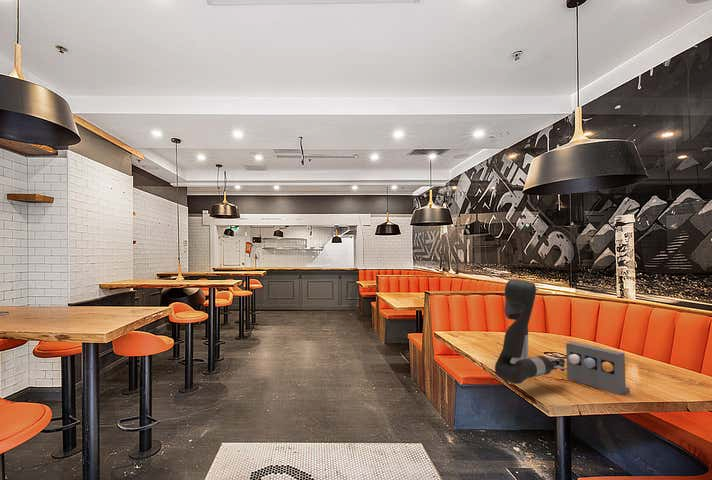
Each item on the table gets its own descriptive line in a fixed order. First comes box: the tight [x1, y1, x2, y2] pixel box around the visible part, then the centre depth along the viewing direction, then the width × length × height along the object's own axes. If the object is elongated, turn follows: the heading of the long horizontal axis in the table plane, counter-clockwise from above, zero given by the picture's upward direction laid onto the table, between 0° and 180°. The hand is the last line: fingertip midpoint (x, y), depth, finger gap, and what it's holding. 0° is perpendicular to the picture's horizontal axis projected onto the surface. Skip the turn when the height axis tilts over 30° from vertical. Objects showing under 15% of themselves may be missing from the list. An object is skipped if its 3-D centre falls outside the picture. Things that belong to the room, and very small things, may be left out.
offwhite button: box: [569, 354, 581, 364], centre depth 154 cm, size 4×3×4 cm
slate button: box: [584, 357, 597, 368], centre depth 149 cm, size 4×3×4 cm
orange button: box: [602, 361, 614, 372], centre depth 143 cm, size 4×3×4 cm
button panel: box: [565, 341, 631, 396], centre depth 150 cm, size 21×8×16 cm, turn 27°
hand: (562, 361), depth 150 cm, fingers closed
